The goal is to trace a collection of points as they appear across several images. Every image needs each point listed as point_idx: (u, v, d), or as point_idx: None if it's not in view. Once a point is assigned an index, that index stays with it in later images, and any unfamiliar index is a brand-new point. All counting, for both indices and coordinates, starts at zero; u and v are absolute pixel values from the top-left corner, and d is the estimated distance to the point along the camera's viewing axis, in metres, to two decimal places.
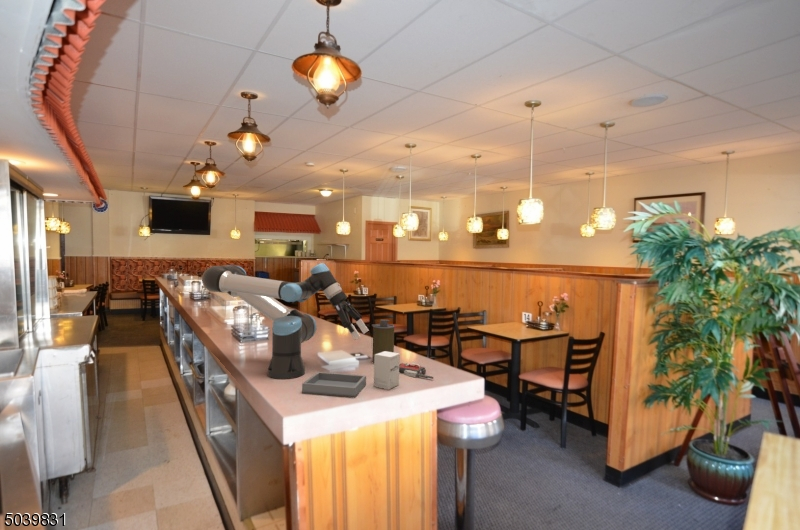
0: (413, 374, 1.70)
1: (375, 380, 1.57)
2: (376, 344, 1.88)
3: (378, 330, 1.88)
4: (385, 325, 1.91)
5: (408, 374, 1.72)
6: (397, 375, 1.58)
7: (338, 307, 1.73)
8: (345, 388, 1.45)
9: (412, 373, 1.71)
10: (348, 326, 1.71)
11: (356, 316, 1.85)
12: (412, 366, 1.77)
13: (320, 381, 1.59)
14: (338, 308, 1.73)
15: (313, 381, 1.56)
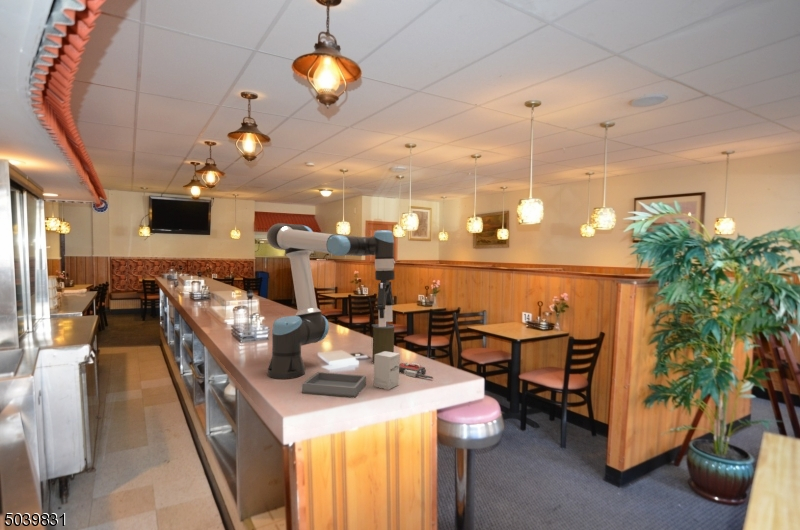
0: (413, 374, 1.70)
1: (375, 380, 1.57)
2: (376, 344, 1.88)
3: (378, 330, 1.88)
4: None
5: (408, 374, 1.72)
6: (397, 375, 1.58)
7: (382, 285, 1.53)
8: (345, 388, 1.45)
9: (412, 373, 1.71)
10: (381, 310, 1.52)
11: (389, 301, 1.66)
12: (412, 366, 1.77)
13: (320, 381, 1.59)
14: (381, 286, 1.53)
15: (313, 381, 1.56)
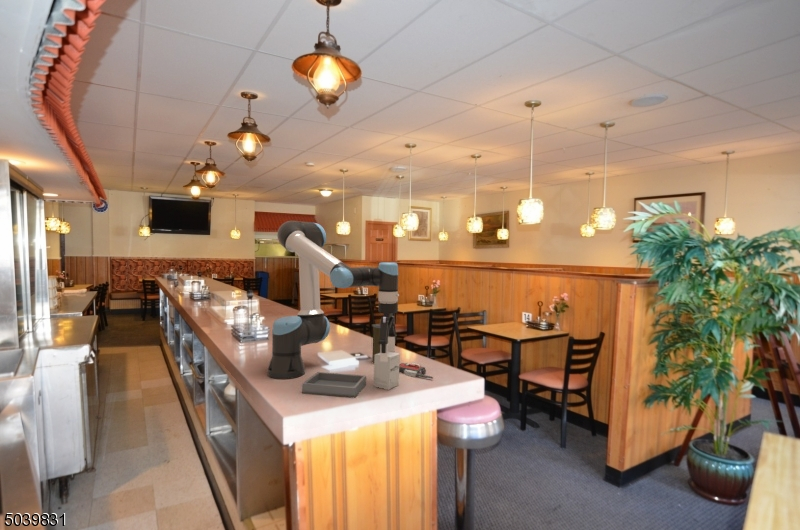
0: (413, 374, 1.71)
1: (375, 380, 1.57)
2: (376, 344, 1.88)
3: (378, 330, 1.88)
4: None
5: (408, 374, 1.72)
6: (397, 375, 1.58)
7: (385, 320, 1.51)
8: (345, 388, 1.45)
9: (412, 373, 1.71)
10: (383, 345, 1.50)
11: (392, 332, 1.63)
12: (412, 366, 1.77)
13: (320, 381, 1.59)
14: (384, 320, 1.51)
15: (313, 381, 1.56)
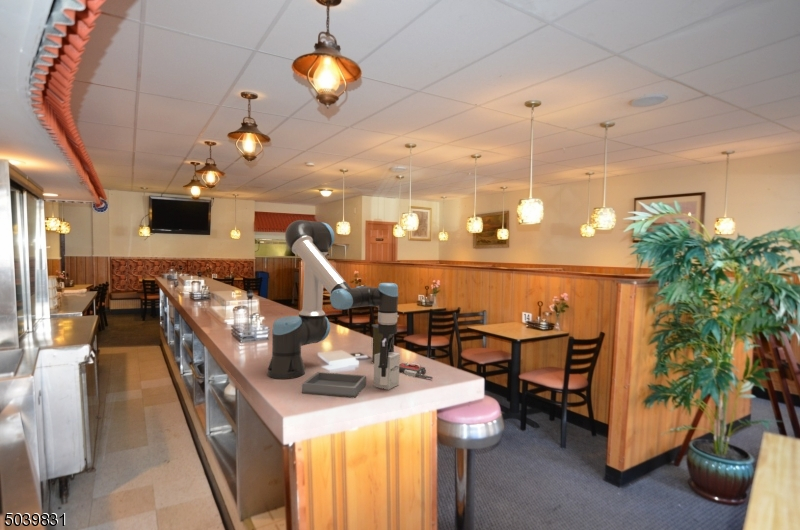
0: (413, 374, 1.71)
1: (375, 380, 1.57)
2: (376, 344, 1.88)
3: None
4: None
5: (408, 374, 1.72)
6: (397, 375, 1.58)
7: (384, 344, 1.51)
8: (345, 388, 1.45)
9: (412, 373, 1.71)
10: (383, 369, 1.52)
11: None
12: (412, 366, 1.77)
13: (320, 381, 1.59)
14: (383, 345, 1.51)
15: (313, 381, 1.56)
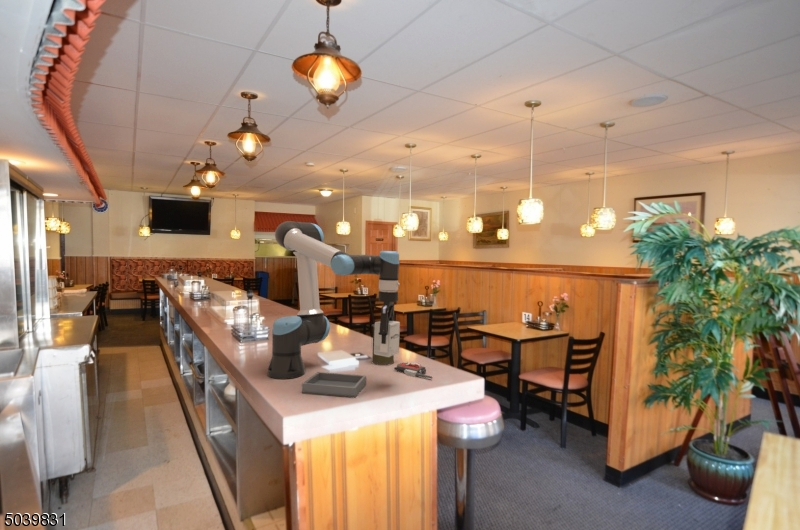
0: (413, 373, 1.71)
1: (375, 348, 1.56)
2: None
3: None
4: None
5: (408, 374, 1.73)
6: (397, 344, 1.58)
7: (385, 310, 1.51)
8: (345, 388, 1.45)
9: (412, 372, 1.71)
10: (383, 336, 1.52)
11: None
12: (412, 365, 1.77)
13: (320, 381, 1.59)
14: (384, 311, 1.51)
15: (313, 381, 1.56)
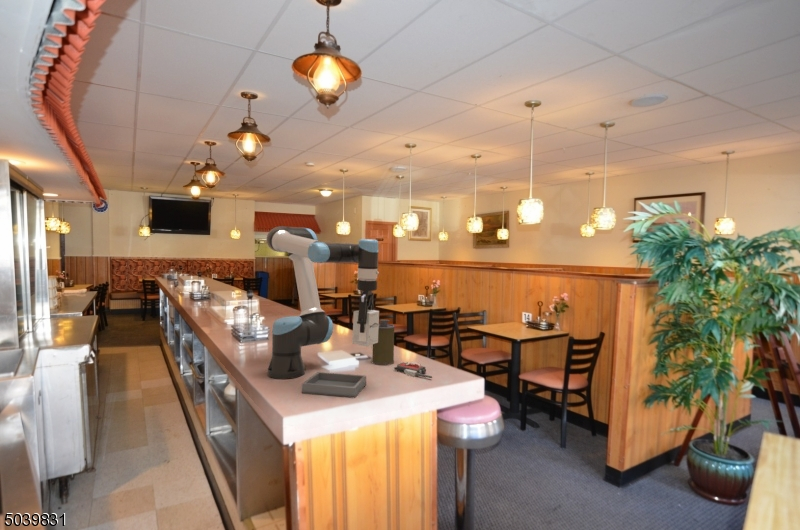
0: (412, 373, 1.71)
1: (354, 337, 1.55)
2: (376, 344, 1.88)
3: (378, 330, 1.88)
4: (385, 325, 1.91)
5: (407, 373, 1.73)
6: (376, 333, 1.56)
7: (363, 299, 1.49)
8: (345, 388, 1.45)
9: (411, 372, 1.72)
10: (361, 325, 1.50)
11: None
12: (412, 365, 1.78)
13: (320, 381, 1.59)
14: (362, 300, 1.49)
15: (313, 381, 1.56)
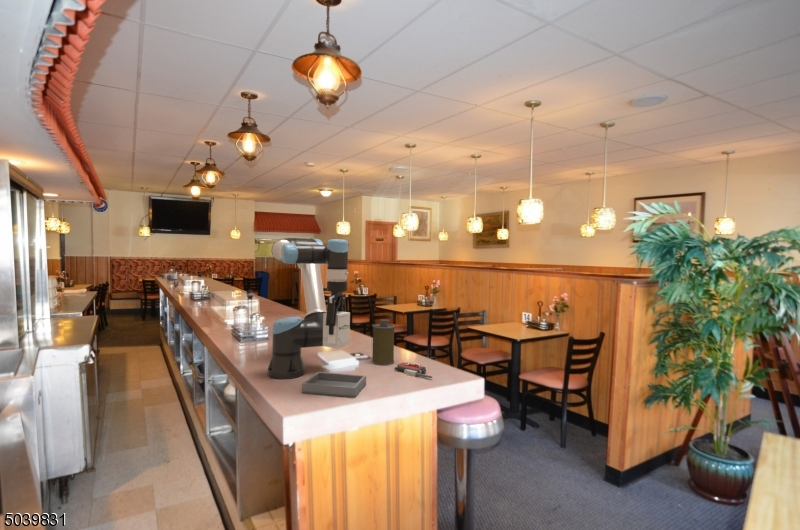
0: (413, 373, 1.71)
1: (324, 339, 1.51)
2: (376, 344, 1.88)
3: (378, 330, 1.88)
4: (385, 325, 1.91)
5: (408, 373, 1.73)
6: (347, 335, 1.53)
7: (331, 300, 1.46)
8: (345, 388, 1.45)
9: (412, 372, 1.72)
10: (330, 326, 1.47)
11: None
12: (413, 365, 1.78)
13: (320, 381, 1.59)
14: (331, 301, 1.46)
15: (313, 381, 1.56)
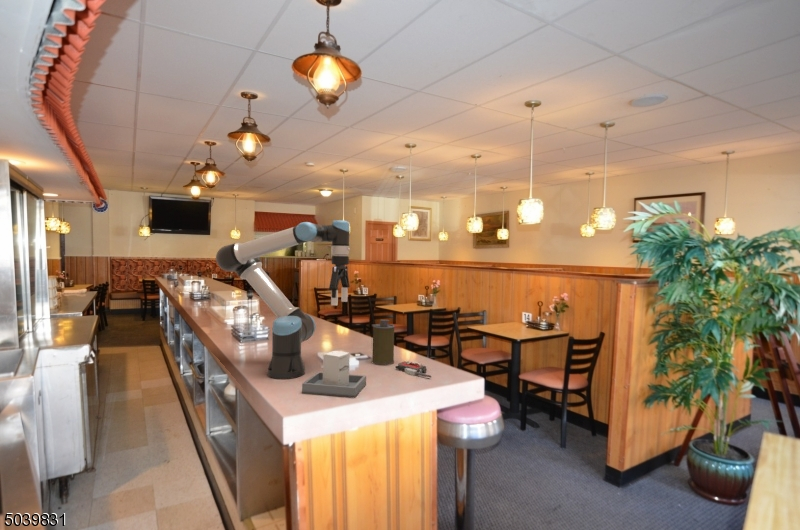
0: (412, 372, 1.73)
1: (324, 381, 1.52)
2: (376, 344, 1.88)
3: (378, 330, 1.88)
4: (385, 325, 1.91)
5: (408, 372, 1.74)
6: (346, 375, 1.54)
7: (335, 269, 1.74)
8: (345, 388, 1.45)
9: (411, 371, 1.73)
10: (333, 290, 1.72)
11: (345, 283, 1.86)
12: (413, 364, 1.79)
13: (320, 381, 1.59)
14: (335, 270, 1.74)
15: (313, 381, 1.56)
